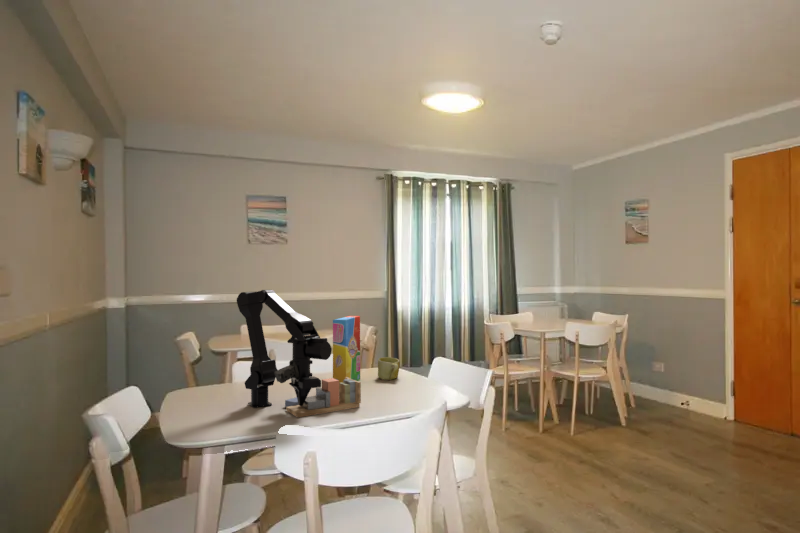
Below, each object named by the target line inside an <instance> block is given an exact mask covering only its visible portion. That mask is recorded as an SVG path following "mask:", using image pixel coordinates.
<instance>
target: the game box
mask: <svg viewBox="0 0 800 533" xmlns="http://www.w3.org/2000/svg"><path fill="white" fill-rule="evenodd" d="M346 377H347V378H350V379H353V380H356V381H358V382H359V381H360V380H361V316H360V315H348V316H344V317H340V318H336V319H332V378H334V379H336V380H339V383H342V382H343V380H345V378H346Z"/></svg>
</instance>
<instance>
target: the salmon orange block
mask: <svg viewBox="0 0 800 533" xmlns="http://www.w3.org/2000/svg"><path fill="white" fill-rule="evenodd" d="M321 388H323V389H325V390H327V391H330V406H333V405H339V380H336V379H334V378H333V377H331V378H330V377H329V378H324V379H323V378H321Z"/></svg>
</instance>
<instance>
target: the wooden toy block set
mask: <svg viewBox="0 0 800 533" xmlns="http://www.w3.org/2000/svg"><path fill="white" fill-rule="evenodd" d="M361 388H362V385H361V382H360V381H359V380H358V381H356V380H353V379H350V378H347V377H346V378H345V380H343V382H342V383H339V405H333V406H330V407H327V408H326V407H325V408H319V409H313V410H307V409H305V408H303V407H302V406H300V405H295V406H288V407H285V408H286V409H285V410H287V411H286V412H288V413H290V415H293V416H295V417H296V418H304V417H308V416H314V415H320V414H326V413H331V412H338V411H343V410H348V409H354V408H360V404H361V403H362V396H361V394H362V393H361V392H362V389H361Z"/></svg>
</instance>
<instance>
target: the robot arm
mask: <svg viewBox="0 0 800 533" xmlns="http://www.w3.org/2000/svg"><path fill="white" fill-rule="evenodd" d="M236 304H237V308H238V310H239V312H240V313H241V314H242V316H243V317H244V319H245V323H246V327H247V333H248V337H249V338H248V339H249V344H250V349H251V355H252V361H251V365H250V367H249V368H250V369H249V371H250V375H249V376H248V377H247V379H246V380H245V381H244V387H245V389H247V390H250V402H247V404H248V406H250V407H251V408H253V409H255V408H256V409H257V408H261V407H267V406H272V402H270V401H269V387H270V386H273V385H274V384H275V380H276V381H277V383H280V384H284V383H286V381H288V380H290V382H289V383H288V384H289V385H290V386H291V387H292V388H293V389H294V392H295V395H296V397H297V400H298V404H299V405H300V406H303V404H304V402H305V400H306V398H307V397H309V393H310V392H311V390H312V389H316V388H318V387H321V388H322V379H320V378H319V377H316V376H314V375H313V372H311V365H312V364H313V360H321V361H322V360H324V361H327V360H329V358H330V357H331V355H332V352H333V347H331V344H330V343H329V341H328V338H327V337H321V336H320V334H319V333H318V331H317V329H316V328H315V326H314V321H313V320H312V319H310V318H309V317H307V316H306V315H303V314H301V313H300V312H299V313H298V312H297V311H295V310H294V309H293V308H292V307H291V306H289V304H287V303H286V302H285V301H284V300H283V299H282V298H281V297H280V296H278V295H277V294H276V292H275V290H274V289H261V290H258V291H242V292H240V293H239V294H238V296H237V297H236ZM263 304H265V305H266V307H268V308H269V309H270V310H271V311H272V312H273V313H274V314H275V315H277V317H279V318H280V320H282V321H283V323H284V324H285V325H284V326H285V328H286V330H287V332H288V333H289V334H290V335H291V337H290V338H288V340H287V343H288V344H292V359H290V360H289V362H288V365H287V366H284V367H281V368H279V369H278V368H277V364H276V363H277V362H276V360H275V359H271V357H269V354H268V350H267V344H266V340H265V335H264V329H263V324H262V319H261V315H262V314H261V313H262V311H263V308H264V305H263ZM311 359H313V360H311Z"/></svg>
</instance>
